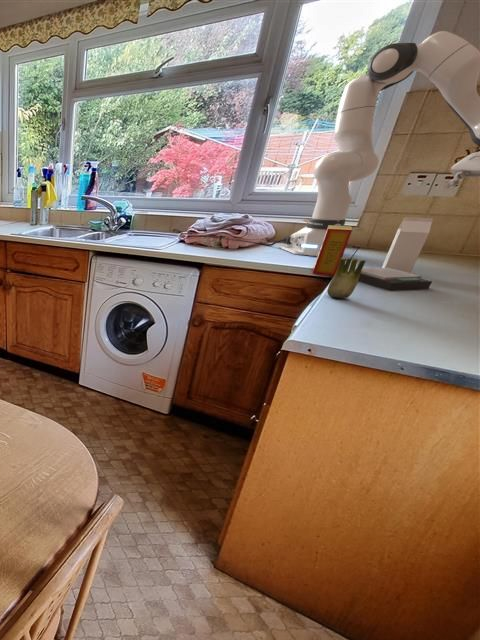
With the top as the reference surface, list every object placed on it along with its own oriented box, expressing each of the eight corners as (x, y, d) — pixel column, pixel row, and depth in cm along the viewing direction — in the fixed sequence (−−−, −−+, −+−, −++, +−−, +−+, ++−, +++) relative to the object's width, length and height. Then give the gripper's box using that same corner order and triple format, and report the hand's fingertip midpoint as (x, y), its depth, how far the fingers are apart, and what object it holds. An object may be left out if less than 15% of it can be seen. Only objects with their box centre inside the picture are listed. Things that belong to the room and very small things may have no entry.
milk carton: (408, 278, 149) (435, 219, 140) (381, 275, 153) (405, 218, 144) (406, 273, 154) (431, 217, 145) (380, 271, 158) (403, 216, 149)
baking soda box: (334, 275, 154) (352, 228, 146) (312, 273, 157) (328, 227, 150) (334, 270, 161) (351, 225, 153) (313, 268, 164) (328, 224, 156)
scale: (347, 277, 151) (351, 268, 150) (383, 276, 151) (387, 267, 150) (388, 290, 137) (393, 280, 135) (428, 289, 137) (433, 278, 136)
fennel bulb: (352, 298, 131) (368, 258, 125) (345, 301, 129) (361, 261, 123) (330, 294, 135) (344, 255, 130) (322, 297, 133) (337, 257, 127)
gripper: (473, 143, 144) (431, 177, 148) (549, 142, 126) (498, 180, 130) (479, 158, 146) (437, 190, 150) (554, 158, 128) (504, 195, 132)
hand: (466, 185), depth 140 cm, fingers open, 8 cm apart
